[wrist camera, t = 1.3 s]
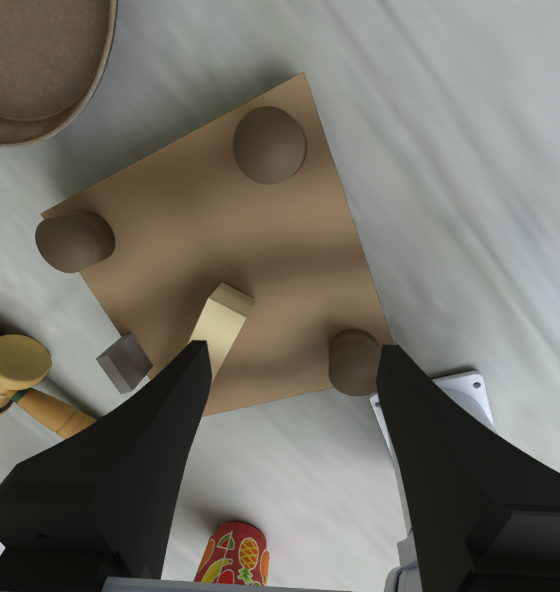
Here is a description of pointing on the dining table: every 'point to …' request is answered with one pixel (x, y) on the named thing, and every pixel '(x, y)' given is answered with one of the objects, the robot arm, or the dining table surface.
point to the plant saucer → (50, 64)
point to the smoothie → (235, 556)
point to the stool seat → (230, 255)
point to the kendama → (26, 373)
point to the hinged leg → (222, 322)
